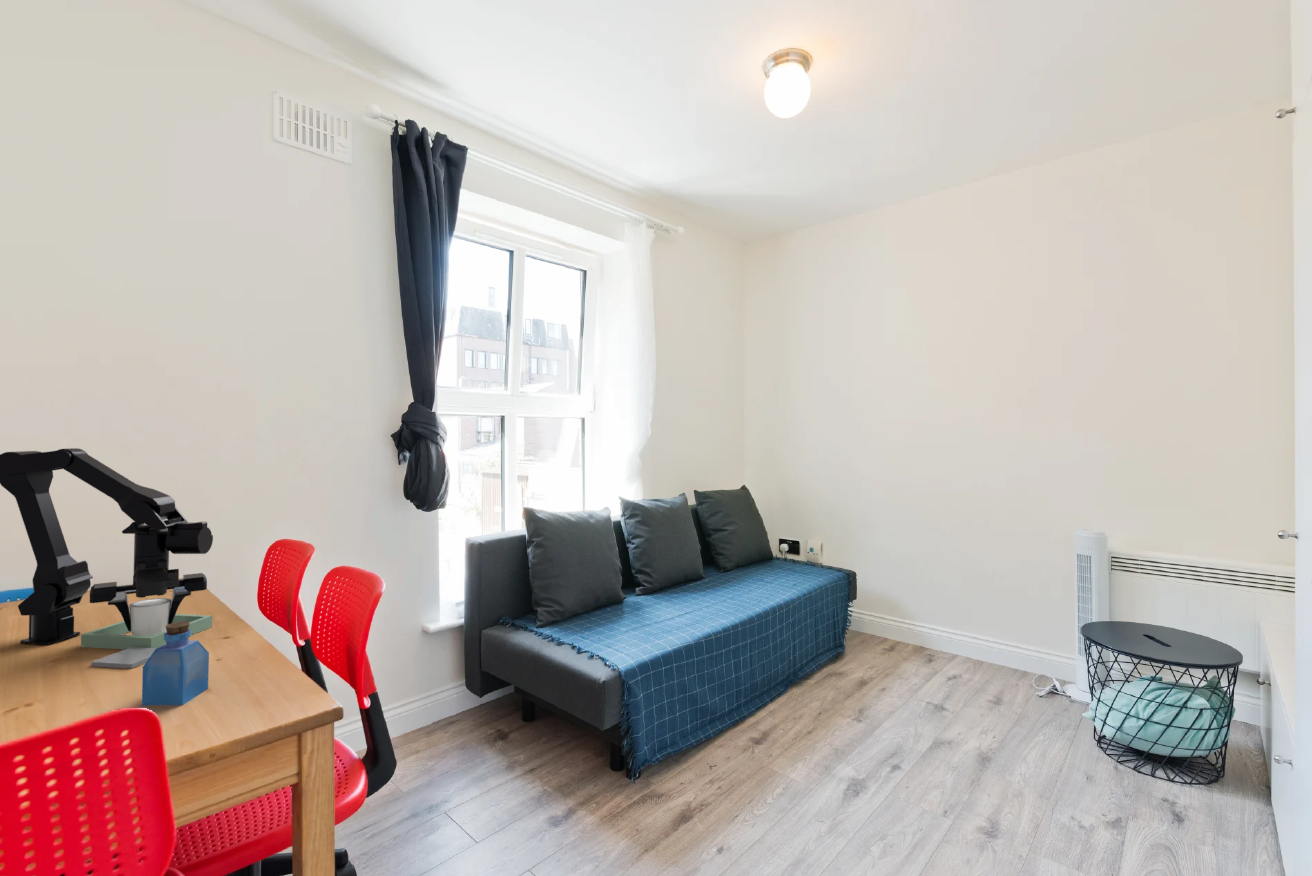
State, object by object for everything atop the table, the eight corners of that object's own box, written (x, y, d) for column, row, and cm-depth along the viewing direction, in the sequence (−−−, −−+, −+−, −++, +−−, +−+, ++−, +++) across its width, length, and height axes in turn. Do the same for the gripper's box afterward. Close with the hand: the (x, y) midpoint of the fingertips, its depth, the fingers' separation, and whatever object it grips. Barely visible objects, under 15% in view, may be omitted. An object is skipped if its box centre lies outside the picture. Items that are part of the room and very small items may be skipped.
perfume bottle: (169, 689, 103) (171, 619, 103) (208, 688, 103) (209, 619, 103) (141, 705, 97) (143, 630, 96) (182, 705, 97) (184, 630, 97)
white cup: (146, 642, 123) (147, 607, 123) (119, 638, 125) (120, 605, 125) (178, 631, 130) (179, 599, 130) (153, 628, 132) (153, 596, 132)
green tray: (80, 646, 121) (81, 634, 121) (149, 623, 136) (149, 612, 136) (150, 650, 119) (151, 638, 119) (212, 626, 134) (212, 615, 134)
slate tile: (91, 666, 111) (91, 662, 111) (132, 650, 119) (132, 646, 119) (131, 668, 111) (131, 664, 111) (169, 653, 119) (170, 648, 119)
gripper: (88, 566, 115) (86, 648, 115) (210, 555, 127) (208, 629, 127) (92, 556, 124) (90, 632, 124) (205, 547, 136) (203, 616, 136)
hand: (149, 627), depth 127 cm, fingers closed on white cup, 6 cm apart
